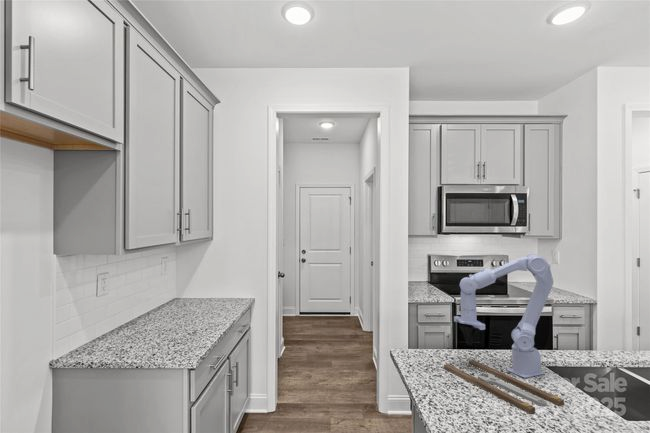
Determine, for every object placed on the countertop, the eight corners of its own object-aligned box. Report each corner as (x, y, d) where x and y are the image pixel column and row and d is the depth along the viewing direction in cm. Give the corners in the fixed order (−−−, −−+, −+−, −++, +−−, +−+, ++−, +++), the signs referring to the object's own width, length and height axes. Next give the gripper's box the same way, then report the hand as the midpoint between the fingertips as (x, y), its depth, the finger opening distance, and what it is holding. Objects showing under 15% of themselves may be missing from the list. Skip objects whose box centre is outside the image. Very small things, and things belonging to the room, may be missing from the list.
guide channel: (472, 363, 148) (472, 359, 148) (564, 405, 113) (564, 399, 113) (443, 368, 143) (443, 364, 143) (530, 414, 108) (529, 408, 108)
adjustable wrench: (549, 407, 113) (549, 401, 113) (533, 411, 110) (533, 405, 110) (487, 376, 136) (487, 371, 136) (473, 378, 134) (473, 374, 134)
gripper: (447, 306, 150) (448, 340, 149) (474, 313, 136) (475, 351, 136) (461, 304, 152) (462, 338, 152) (489, 311, 139) (490, 348, 138)
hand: (469, 344), depth 144 cm, fingers closed
